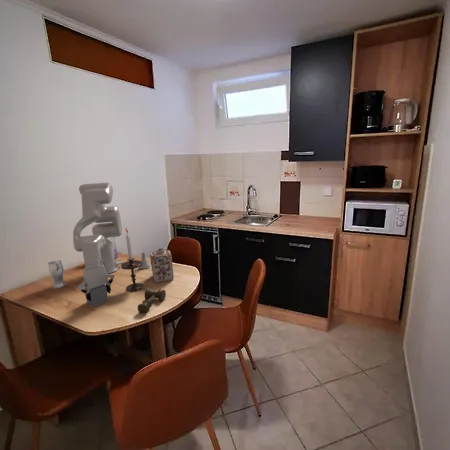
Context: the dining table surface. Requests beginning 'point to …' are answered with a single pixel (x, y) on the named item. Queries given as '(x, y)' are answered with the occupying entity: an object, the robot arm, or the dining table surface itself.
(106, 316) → the dining table surface
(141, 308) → the kendama
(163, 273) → the decorative jar
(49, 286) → the dining table surface
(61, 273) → the beer glass
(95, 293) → the matte gray cube
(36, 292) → the dining table surface
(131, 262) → the candlestick
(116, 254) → the white carton
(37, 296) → the dining table surface
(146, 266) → the flask
